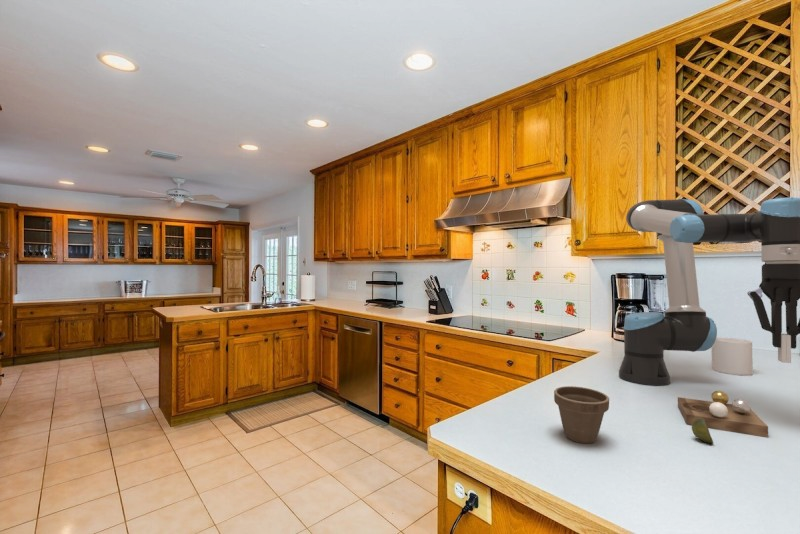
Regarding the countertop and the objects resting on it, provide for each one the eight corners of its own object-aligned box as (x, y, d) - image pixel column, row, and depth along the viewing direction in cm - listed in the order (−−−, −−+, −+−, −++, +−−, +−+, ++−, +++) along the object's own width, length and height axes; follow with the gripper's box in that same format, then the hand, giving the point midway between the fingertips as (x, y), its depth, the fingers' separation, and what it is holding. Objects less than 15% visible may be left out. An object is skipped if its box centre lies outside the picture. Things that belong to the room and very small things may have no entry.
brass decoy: (713, 405, 101) (713, 391, 101) (710, 401, 104) (710, 388, 104) (730, 407, 99) (730, 394, 99) (726, 403, 102) (726, 390, 102)
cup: (746, 377, 137) (745, 343, 137) (706, 370, 147) (706, 339, 147) (757, 372, 144) (756, 340, 144) (718, 366, 153) (718, 336, 154)
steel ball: (734, 414, 94) (733, 400, 94) (730, 409, 98) (730, 396, 98) (752, 417, 93) (752, 402, 93) (748, 412, 96) (748, 398, 96)
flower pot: (618, 451, 80) (617, 403, 80) (560, 447, 82) (560, 400, 82) (599, 429, 91) (599, 387, 92) (549, 426, 93) (549, 384, 93)
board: (686, 424, 94) (686, 414, 94) (677, 406, 107) (677, 397, 108) (768, 437, 87) (768, 426, 87) (747, 415, 100) (747, 406, 100)
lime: (705, 436, 88) (704, 414, 88) (723, 446, 83) (723, 422, 83) (685, 436, 88) (685, 414, 88) (703, 446, 83) (702, 423, 83)
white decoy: (711, 418, 92) (710, 403, 92) (707, 413, 95) (707, 399, 95) (729, 420, 90) (729, 405, 90) (725, 415, 93) (725, 401, 93)
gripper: (752, 262, 92) (753, 361, 91) (829, 262, 85) (831, 368, 85) (742, 263, 98) (743, 355, 98) (814, 263, 92) (815, 361, 91)
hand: (784, 361), depth 91 cm, fingers closed
